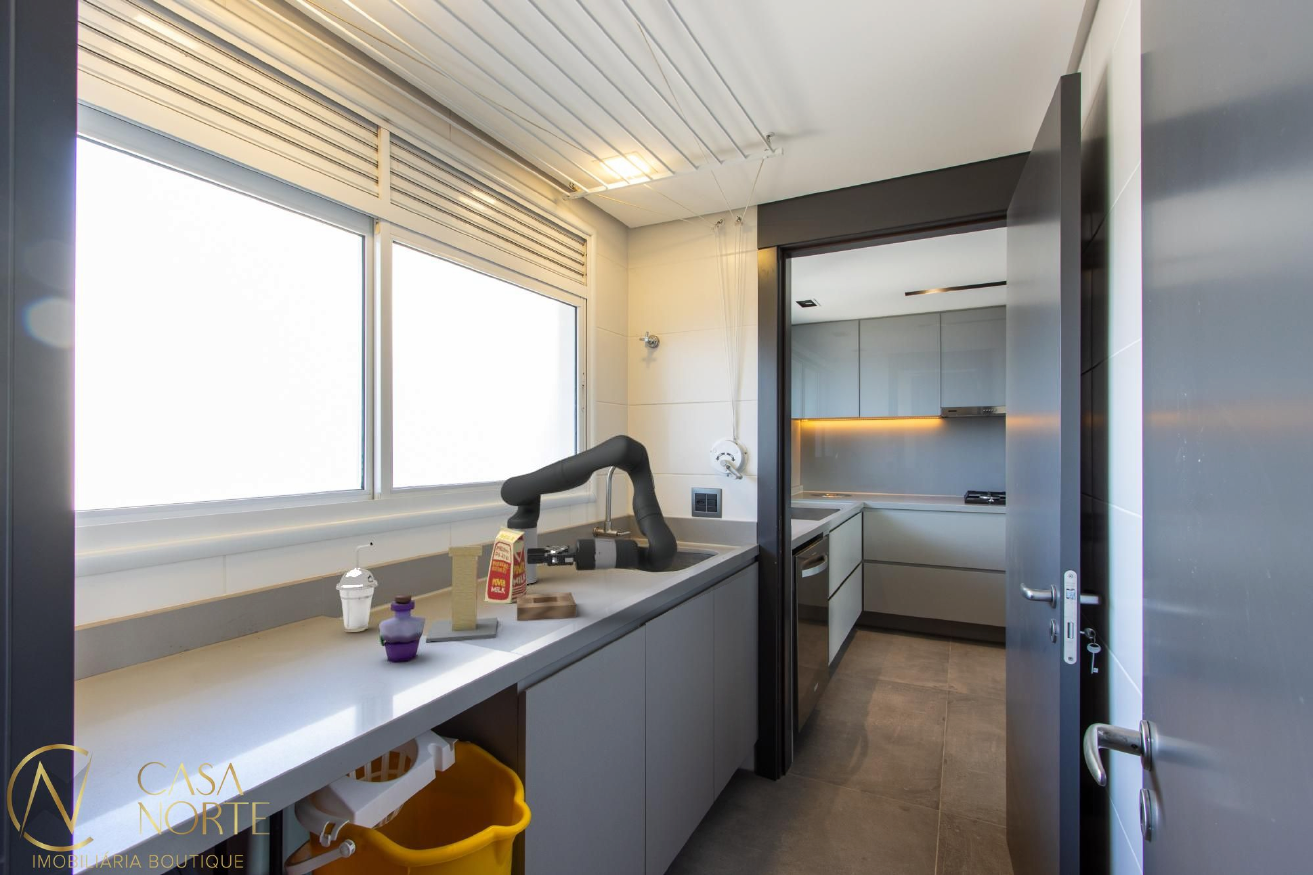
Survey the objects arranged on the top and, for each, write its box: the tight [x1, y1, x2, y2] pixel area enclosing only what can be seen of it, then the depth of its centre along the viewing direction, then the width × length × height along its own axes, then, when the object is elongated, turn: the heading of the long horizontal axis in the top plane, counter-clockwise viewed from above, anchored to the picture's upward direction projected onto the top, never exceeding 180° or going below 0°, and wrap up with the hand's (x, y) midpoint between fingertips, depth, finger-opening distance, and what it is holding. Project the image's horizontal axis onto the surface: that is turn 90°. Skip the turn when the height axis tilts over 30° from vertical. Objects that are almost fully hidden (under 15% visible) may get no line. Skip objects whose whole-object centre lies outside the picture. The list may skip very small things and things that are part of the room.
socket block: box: [516, 592, 577, 622], centre depth 150 cm, size 14×14×3 cm
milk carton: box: [484, 525, 528, 604], centre depth 165 cm, size 9×9×20 cm
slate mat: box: [425, 617, 498, 643], centre depth 133 cm, size 14×14×1 cm
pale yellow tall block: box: [448, 544, 483, 631], centre depth 134 cm, size 7×5×18 cm
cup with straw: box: [335, 541, 379, 629], centre depth 134 cm, size 8×9×20 cm
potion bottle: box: [378, 594, 427, 664], centre depth 115 cm, size 9×9×12 cm
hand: (527, 555), depth 141 cm, fingers open, 8 cm apart
